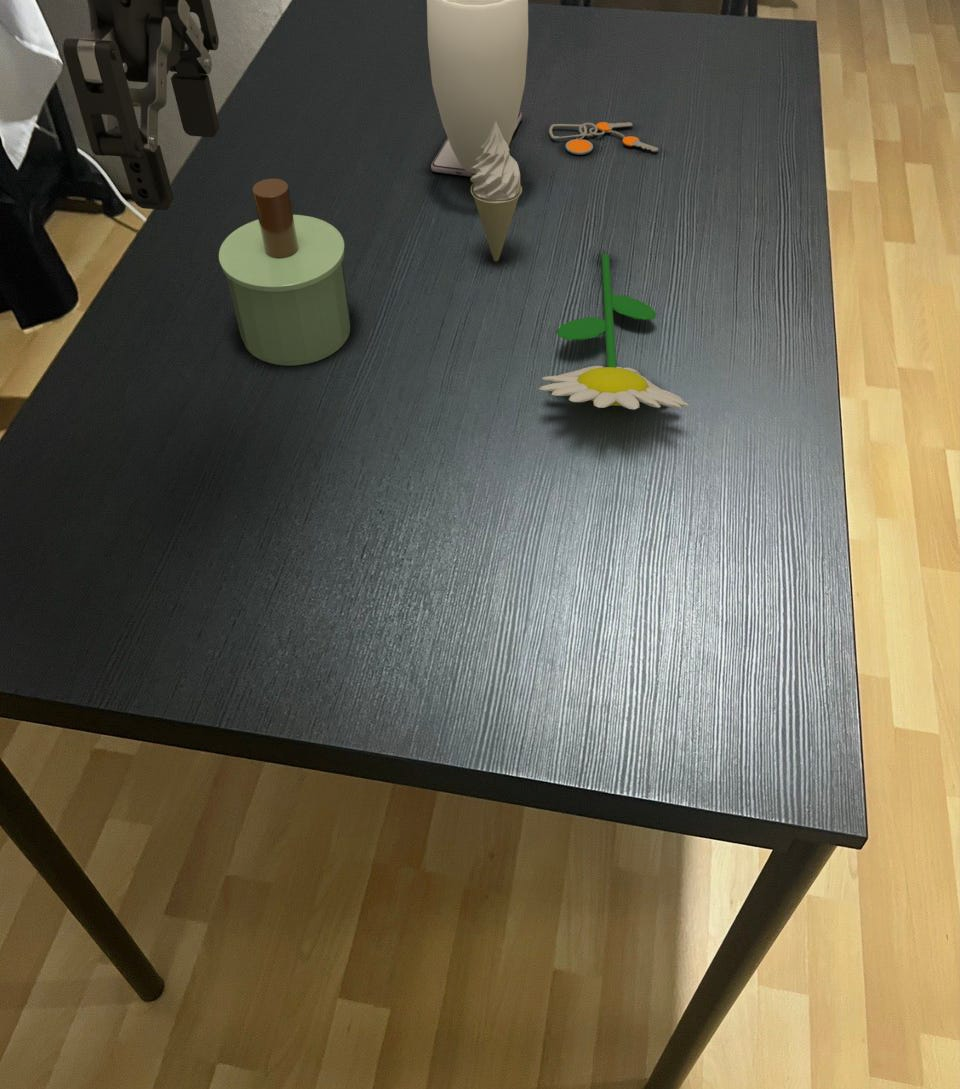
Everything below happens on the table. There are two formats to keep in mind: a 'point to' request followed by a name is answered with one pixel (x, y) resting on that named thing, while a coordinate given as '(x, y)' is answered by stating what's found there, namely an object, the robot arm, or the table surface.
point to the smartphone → (453, 159)
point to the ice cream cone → (496, 189)
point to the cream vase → (477, 69)
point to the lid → (280, 245)
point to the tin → (293, 320)
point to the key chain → (586, 146)
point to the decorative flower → (609, 360)
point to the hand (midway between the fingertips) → (180, 168)
